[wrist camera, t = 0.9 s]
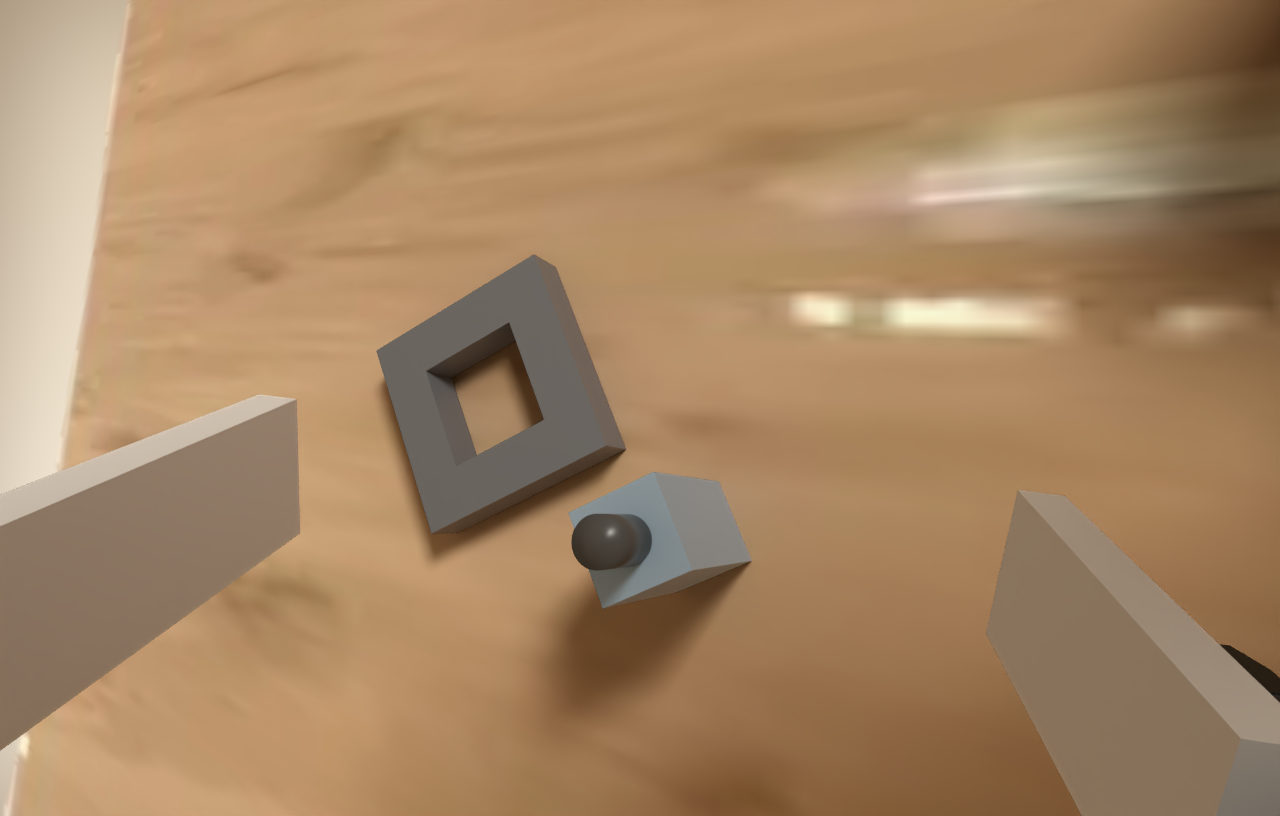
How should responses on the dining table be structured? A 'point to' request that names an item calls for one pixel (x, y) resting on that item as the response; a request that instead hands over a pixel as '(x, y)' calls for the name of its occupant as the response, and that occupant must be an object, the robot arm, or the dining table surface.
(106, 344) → the dining table surface
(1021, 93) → the dining table surface
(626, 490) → the connector plug
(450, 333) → the frame
